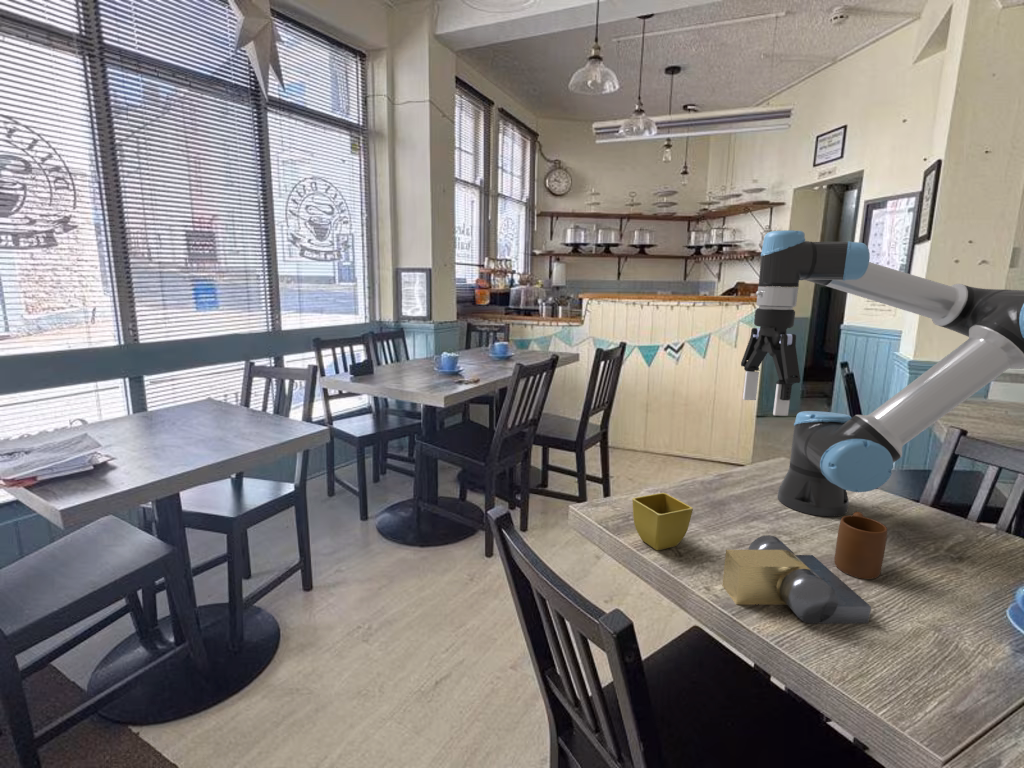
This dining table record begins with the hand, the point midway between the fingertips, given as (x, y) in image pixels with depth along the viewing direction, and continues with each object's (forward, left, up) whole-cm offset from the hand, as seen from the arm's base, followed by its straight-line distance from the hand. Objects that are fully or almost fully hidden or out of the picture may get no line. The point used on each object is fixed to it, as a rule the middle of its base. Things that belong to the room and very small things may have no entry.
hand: (763, 407), depth 116 cm
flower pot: (+24, +10, -27) cm, 37 cm away
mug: (-12, +18, -27) cm, 35 cm away
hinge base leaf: (+4, +28, -27) cm, 39 cm away
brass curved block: (+10, +28, -27) cm, 40 cm away
